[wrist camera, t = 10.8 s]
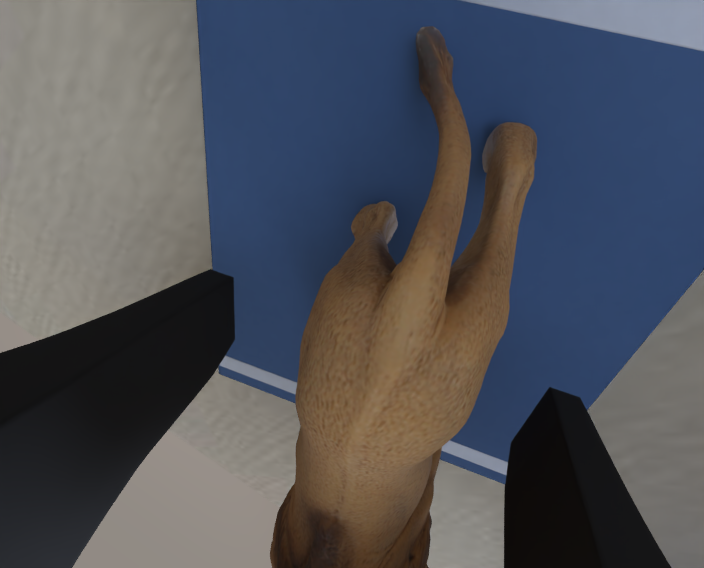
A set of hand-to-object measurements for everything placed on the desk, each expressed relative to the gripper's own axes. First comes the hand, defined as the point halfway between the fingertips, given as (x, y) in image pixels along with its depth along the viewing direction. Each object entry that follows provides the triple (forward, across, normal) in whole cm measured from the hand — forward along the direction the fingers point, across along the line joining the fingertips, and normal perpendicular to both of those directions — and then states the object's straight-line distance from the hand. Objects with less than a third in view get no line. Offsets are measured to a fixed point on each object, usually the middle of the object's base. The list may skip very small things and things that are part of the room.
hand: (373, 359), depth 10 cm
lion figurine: (+4, -1, +1) cm, 4 cm away
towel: (+4, 0, 0) cm, 4 cm away
